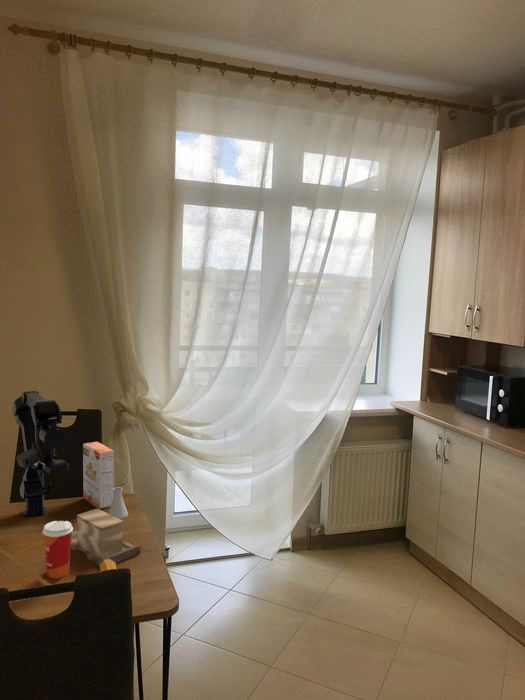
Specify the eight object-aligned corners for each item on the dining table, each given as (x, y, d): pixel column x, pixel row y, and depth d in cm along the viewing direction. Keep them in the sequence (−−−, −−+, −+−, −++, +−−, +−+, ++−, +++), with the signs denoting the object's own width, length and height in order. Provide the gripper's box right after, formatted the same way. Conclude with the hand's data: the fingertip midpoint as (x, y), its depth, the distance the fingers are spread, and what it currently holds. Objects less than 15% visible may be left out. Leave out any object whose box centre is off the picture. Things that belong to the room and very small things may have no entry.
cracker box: (82, 499, 204) (82, 443, 202) (97, 495, 208) (98, 440, 206) (98, 511, 193) (98, 452, 191) (114, 507, 197) (115, 449, 195)
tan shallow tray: (38, 545, 166) (38, 536, 166) (103, 523, 183) (103, 515, 183) (86, 577, 150) (86, 566, 149) (153, 550, 166) (153, 540, 166)
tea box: (76, 544, 167) (76, 514, 166) (97, 536, 172) (97, 508, 171) (101, 559, 158) (101, 528, 157) (122, 550, 163) (123, 521, 162)
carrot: (101, 574, 153) (95, 561, 152) (117, 565, 155) (111, 553, 153) (116, 620, 136) (109, 607, 134) (133, 610, 137) (127, 597, 136)
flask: (122, 522, 185) (123, 493, 184) (102, 520, 186) (102, 491, 185) (132, 514, 192) (132, 486, 191) (112, 512, 193) (112, 484, 192)
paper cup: (47, 568, 153) (47, 519, 152) (76, 568, 154) (76, 519, 153) (38, 583, 146) (38, 531, 144) (68, 583, 146) (68, 531, 145)
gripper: (6, 438, 177) (6, 486, 178) (35, 451, 164) (35, 502, 166) (39, 432, 185) (39, 478, 187) (69, 444, 173) (69, 492, 175)
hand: (45, 487), depth 178 cm, fingers closed
